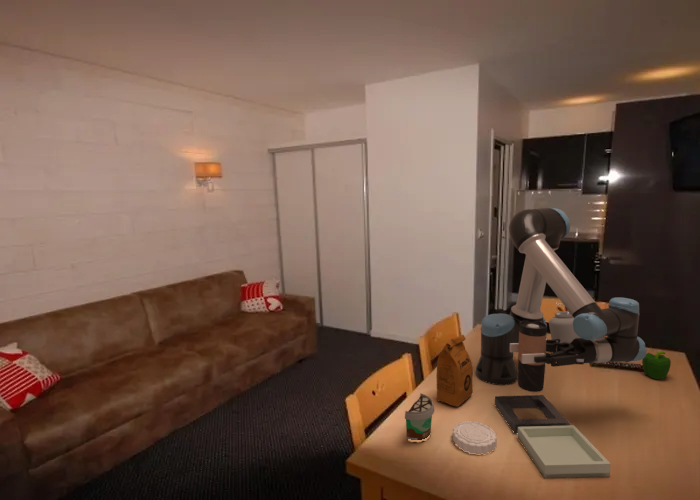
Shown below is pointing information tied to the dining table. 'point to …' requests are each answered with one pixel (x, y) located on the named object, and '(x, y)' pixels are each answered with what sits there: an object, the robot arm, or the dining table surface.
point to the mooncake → (474, 437)
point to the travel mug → (530, 343)
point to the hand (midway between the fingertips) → (516, 353)
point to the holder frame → (529, 401)
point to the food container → (419, 418)
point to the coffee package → (454, 373)
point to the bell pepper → (656, 365)
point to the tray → (563, 452)
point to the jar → (562, 327)
